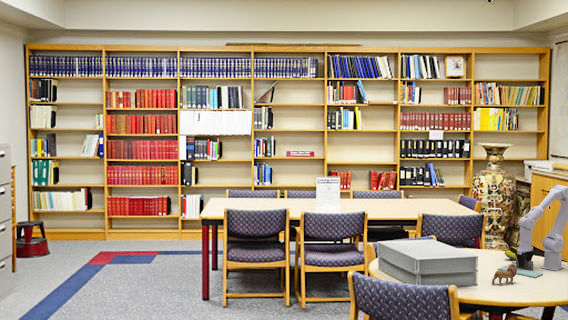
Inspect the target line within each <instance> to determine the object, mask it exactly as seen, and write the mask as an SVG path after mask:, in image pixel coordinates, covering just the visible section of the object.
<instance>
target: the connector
mask: <svg viewBox="0 0 568 320" xmlns="http://www.w3.org/2000/svg"><path fill="white" fill-rule="evenodd" d="M511 264H515V265H516V267H517V268H520V269H525V270H529V271H534V261H532V260H531V261H529V260H525V264H524V267H523V268H522V267H519V264H518V260H517V259H516V260H512V261H511Z"/></svg>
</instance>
